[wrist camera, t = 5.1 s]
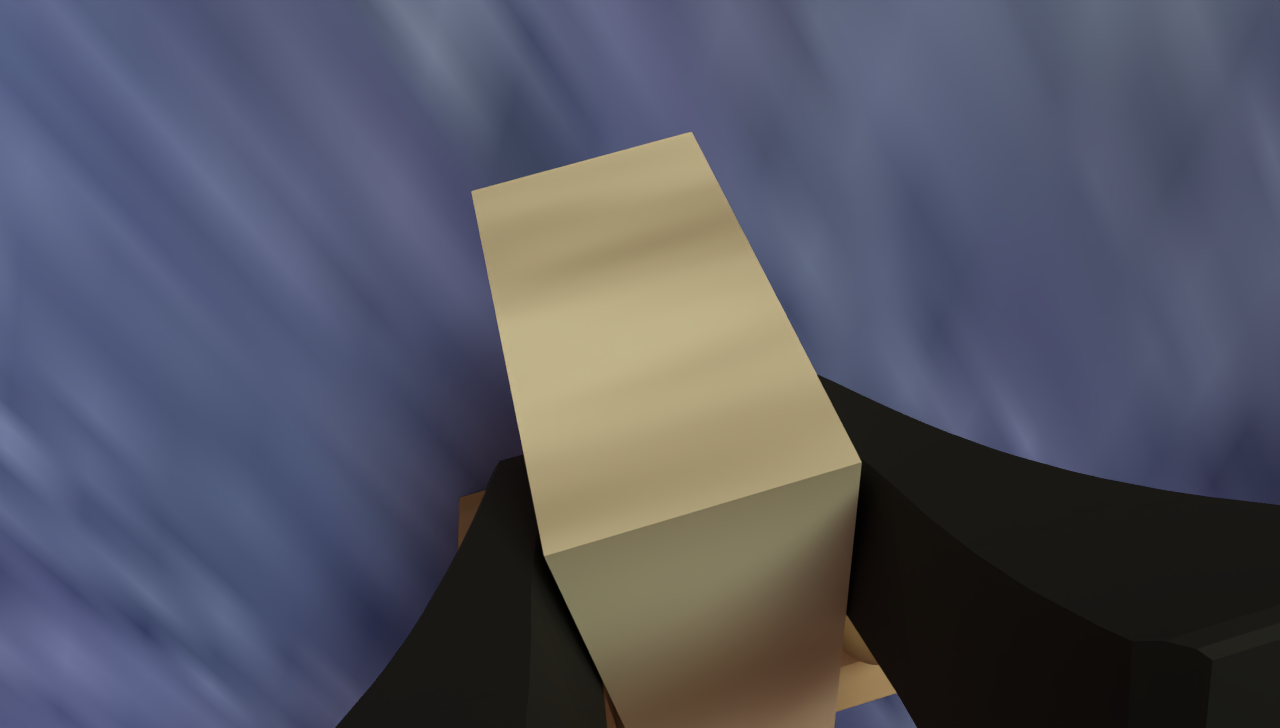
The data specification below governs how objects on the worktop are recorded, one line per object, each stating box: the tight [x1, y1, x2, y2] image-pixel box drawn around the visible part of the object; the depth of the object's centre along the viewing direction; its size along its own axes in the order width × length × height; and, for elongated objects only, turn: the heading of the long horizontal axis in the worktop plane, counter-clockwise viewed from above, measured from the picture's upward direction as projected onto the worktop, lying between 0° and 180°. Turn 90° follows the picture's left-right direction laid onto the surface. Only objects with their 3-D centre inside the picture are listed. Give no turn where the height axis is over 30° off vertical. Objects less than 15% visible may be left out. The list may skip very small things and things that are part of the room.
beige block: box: [471, 132, 862, 728], centre depth 13 cm, size 10×3×6 cm, turn 13°
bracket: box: [458, 490, 896, 728], centre depth 19 cm, size 9×4×7 cm, turn 103°
